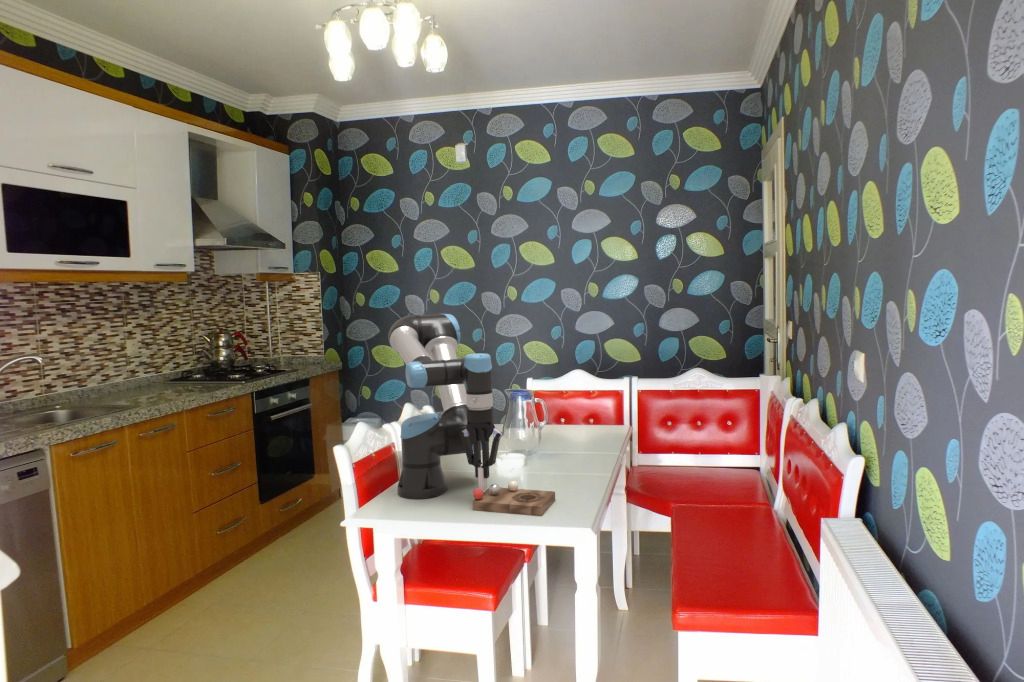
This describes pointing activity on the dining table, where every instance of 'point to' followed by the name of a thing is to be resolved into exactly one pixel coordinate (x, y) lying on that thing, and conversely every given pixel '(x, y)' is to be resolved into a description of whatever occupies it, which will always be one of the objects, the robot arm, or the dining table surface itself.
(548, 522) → the dining table surface
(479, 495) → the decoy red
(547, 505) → the board
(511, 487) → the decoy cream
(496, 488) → the steel ball
